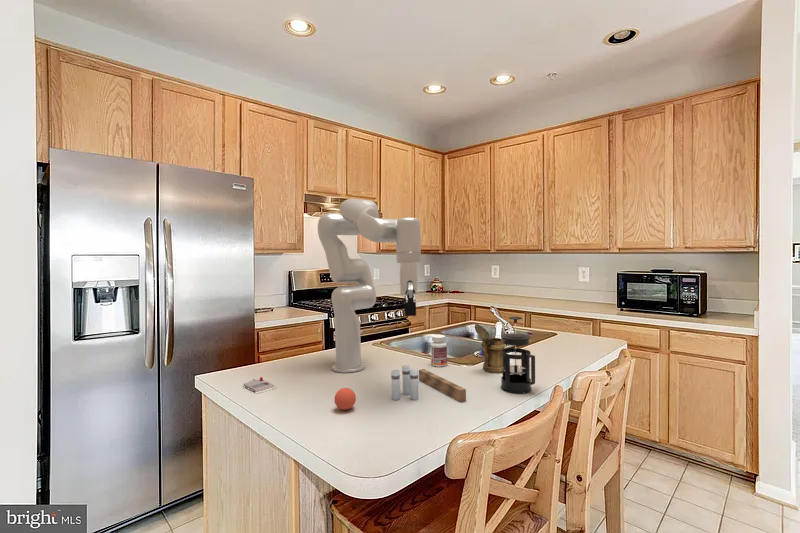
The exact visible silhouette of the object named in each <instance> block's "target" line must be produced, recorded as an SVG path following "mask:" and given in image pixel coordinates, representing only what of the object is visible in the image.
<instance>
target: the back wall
mask: <svg viewBox="0 0 800 533" xmlns="http://www.w3.org/2000/svg"><path fill="white" fill-rule="evenodd" d="M418 381H421V382H422V383H424V384H425V385H427V384H428V386H429V387H432V388H433V389H435V390H436V391H439V392H440V391H441V393H442V392H443V393H442V394H444V395H447V396H448V397H450V398H451V399H453V398H454V399H453V400H456V401H458V402H459V403H463V402H467V389H466V388H465V387H462V386H461V385H458V384H456V383H454V382H452V381H449V380H447V379H445V378H444V377H441V376H439V375H437V374H435V373H433V372H431V371H429V370H427V369H425V368H422V369H418Z"/></svg>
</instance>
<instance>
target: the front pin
mask: <svg viewBox="0 0 800 533" xmlns="http://www.w3.org/2000/svg"><path fill="white" fill-rule="evenodd" d="M400 376H401V375H400V370H399V369H392V370H391V377H390V378H391V400H393V401H399V400H400V399H401V389H400V388H401V386H400V385H401V384H400V383H401V381H400Z"/></svg>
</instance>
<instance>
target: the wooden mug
mask: <svg viewBox="0 0 800 533" xmlns="http://www.w3.org/2000/svg"><path fill="white" fill-rule="evenodd" d="M474 331H475V332H476V333H477V335H478V336H479V337H480V338H481V339H482V341H481V344H482V353H483V355H484V357H483V358H484V362H483V365H482V370H483V371H484V372H487V371H488V373H491V372H493V373H492V374H501V373H502V372H503V369H502V368H503V356H501V350H503V349H506V346H505V345H506V344H503V340H502V338H501V337H500V338H499V337H490V334H489V332H488V331H487V329H486V328H485V327H483V326H482V325H480V324H478V323H476V324H474ZM502 374H503V373H502Z"/></svg>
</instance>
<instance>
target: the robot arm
mask: <svg viewBox="0 0 800 533" xmlns="http://www.w3.org/2000/svg"><path fill="white" fill-rule="evenodd" d="M338 210H339V212H330V213H329V212H328V213H325V214H323V215H321V216H320V218H319V219H318V220H317V221H318V223H317V236H318V238H319V241H320V243H321V246H322V247H323V250H324V253H325V257H326V262H327V266H328V271H329V275H330V279H331V280H332V282H333V283H335V284H350V285H341V286H338V287H336V288H335V289H333V291H332V292H331V303H332V304H331V305H332V307H333V308H332V309H333V314H334V330H335V331H334V334H335V335H334V336H335V338H334V339H335V340H334V341H335V363H334V364H332V365H331V369H332V371H334V372H336V373H343V374H344V373H345V374H346V373H347V374H349V373H357V372H360V371H363V370H364V369H365V368H366V364H365V363H364V362H363V361H362V353H361V352H362V351H361V350H362V349H361V348H362V347H361V346H362V345H361V344H362V342H361V321H360V318H359V317H358V315H357V314H356V312H355V311H357V310H363V309H370V308H372V307H373V306H375V304H376V301H377V293H376V288H375V285H374V280H373V275H372V272H371V269H370V265H369V264H368V262H366V261H365V260H364V259H362V258H351V257H350V256H349V253H348V248H347V246H346V244H345V243H344V241H343V240H341V238H339V237H338V236H358V235H360V236H362V238H365V239H367V240H369V241H371V242H373V243H390V244H391V243H395V244H396V245H395V246H396V264H399V285H400V286H399V294H400V296H404V298H403V311H404V313H405V317H416V316H417V302H416V295H418V263H419V264H420V263H422V255H421V254H422V253H421V252H422V246H421V245H422V244H421V243H422V241H421V237H422V236H421V221H420V220H419V218H416V217H399V218H398V219H395V218H380V215H379V207H378V205H377V204H376V202H374V201H373V200H370V199H362V198H361V199H360V198H347V199H345V200H344V201H342V202H341V204H340V205H339V209H338ZM351 284H352V285H351Z"/></svg>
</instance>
